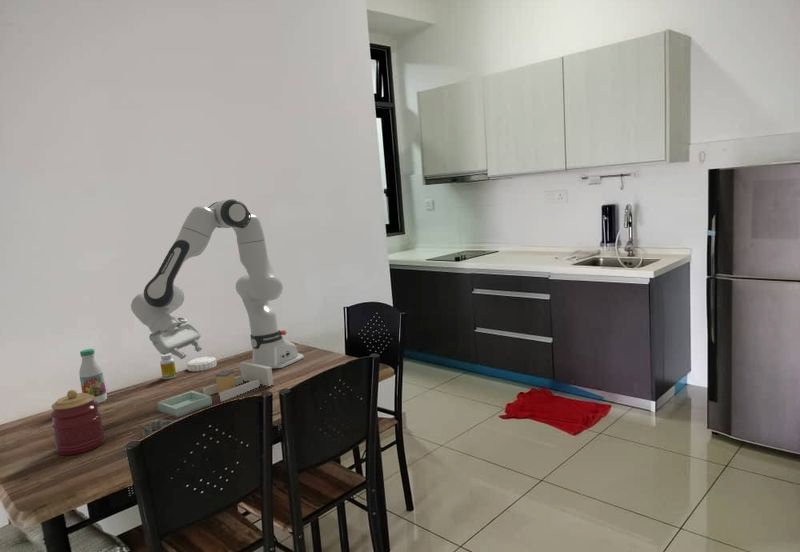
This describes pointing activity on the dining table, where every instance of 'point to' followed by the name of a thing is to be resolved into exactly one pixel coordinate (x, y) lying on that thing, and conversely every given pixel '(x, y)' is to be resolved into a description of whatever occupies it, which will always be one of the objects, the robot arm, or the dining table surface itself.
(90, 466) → the dining table surface
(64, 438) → the canister
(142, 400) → the dining table surface
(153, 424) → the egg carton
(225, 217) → the robot arm
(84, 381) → the milk bottle
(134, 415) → the dining table surface
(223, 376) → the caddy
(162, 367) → the supplement bottle
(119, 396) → the dining table surface
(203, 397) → the tray
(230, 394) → the dock
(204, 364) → the mooncake
